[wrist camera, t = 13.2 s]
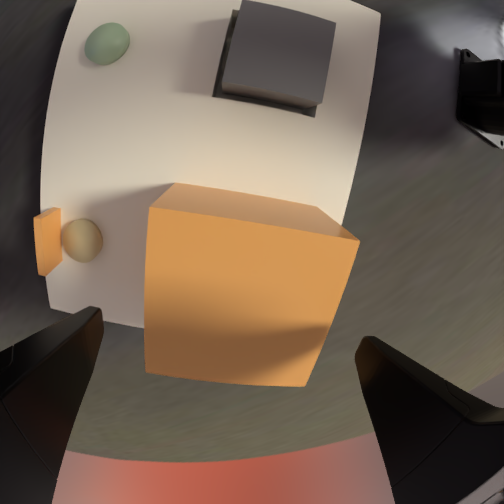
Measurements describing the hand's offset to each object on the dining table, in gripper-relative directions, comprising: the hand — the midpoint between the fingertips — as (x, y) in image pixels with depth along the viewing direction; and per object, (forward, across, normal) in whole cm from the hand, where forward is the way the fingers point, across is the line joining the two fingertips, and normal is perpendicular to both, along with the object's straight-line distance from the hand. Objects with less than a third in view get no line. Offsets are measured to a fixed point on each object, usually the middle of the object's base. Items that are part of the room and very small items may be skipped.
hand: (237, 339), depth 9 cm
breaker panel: (+9, +3, -5) cm, 11 cm away
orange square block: (+6, 0, 0) cm, 6 cm away
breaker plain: (+7, 0, -10) cm, 12 cm away
